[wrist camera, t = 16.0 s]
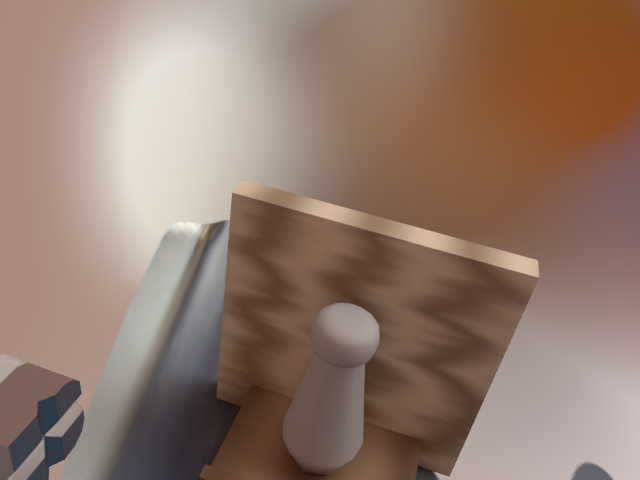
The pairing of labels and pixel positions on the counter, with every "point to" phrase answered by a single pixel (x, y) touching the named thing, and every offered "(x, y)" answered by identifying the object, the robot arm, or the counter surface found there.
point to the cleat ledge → (280, 467)
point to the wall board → (379, 300)
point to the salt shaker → (332, 390)
